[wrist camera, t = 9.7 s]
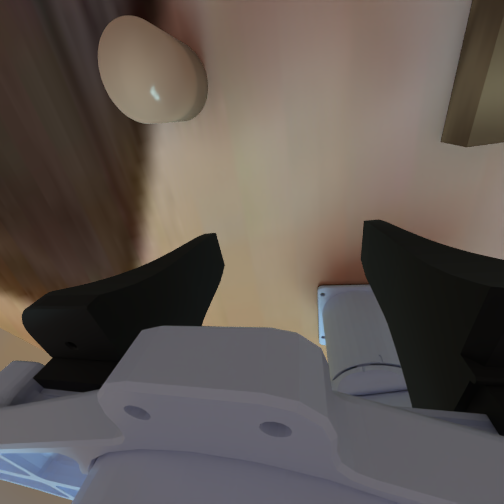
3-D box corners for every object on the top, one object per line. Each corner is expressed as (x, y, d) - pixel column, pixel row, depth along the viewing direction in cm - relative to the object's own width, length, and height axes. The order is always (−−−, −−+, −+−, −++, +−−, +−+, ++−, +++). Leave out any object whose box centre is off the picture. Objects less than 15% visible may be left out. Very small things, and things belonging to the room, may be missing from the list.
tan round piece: (214, 114, 18) (190, 115, 14) (160, 126, 19) (122, 130, 15) (197, 31, 16) (160, 2, 11) (135, 50, 17) (81, 30, 13)
